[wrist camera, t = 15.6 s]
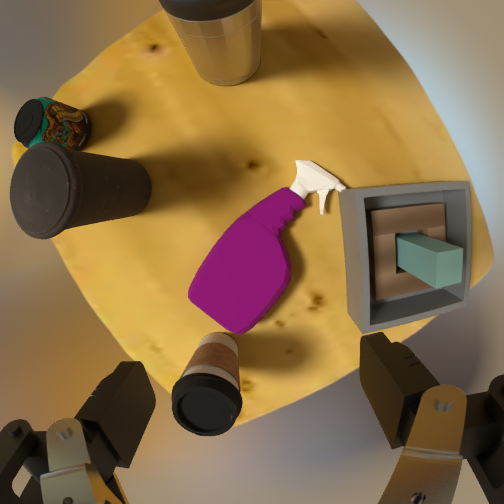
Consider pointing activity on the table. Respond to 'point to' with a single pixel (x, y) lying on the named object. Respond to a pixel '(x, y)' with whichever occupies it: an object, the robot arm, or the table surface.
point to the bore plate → (383, 244)
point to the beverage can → (52, 124)
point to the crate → (357, 265)
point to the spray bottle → (255, 255)
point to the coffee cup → (209, 388)
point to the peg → (429, 259)
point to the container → (74, 189)
